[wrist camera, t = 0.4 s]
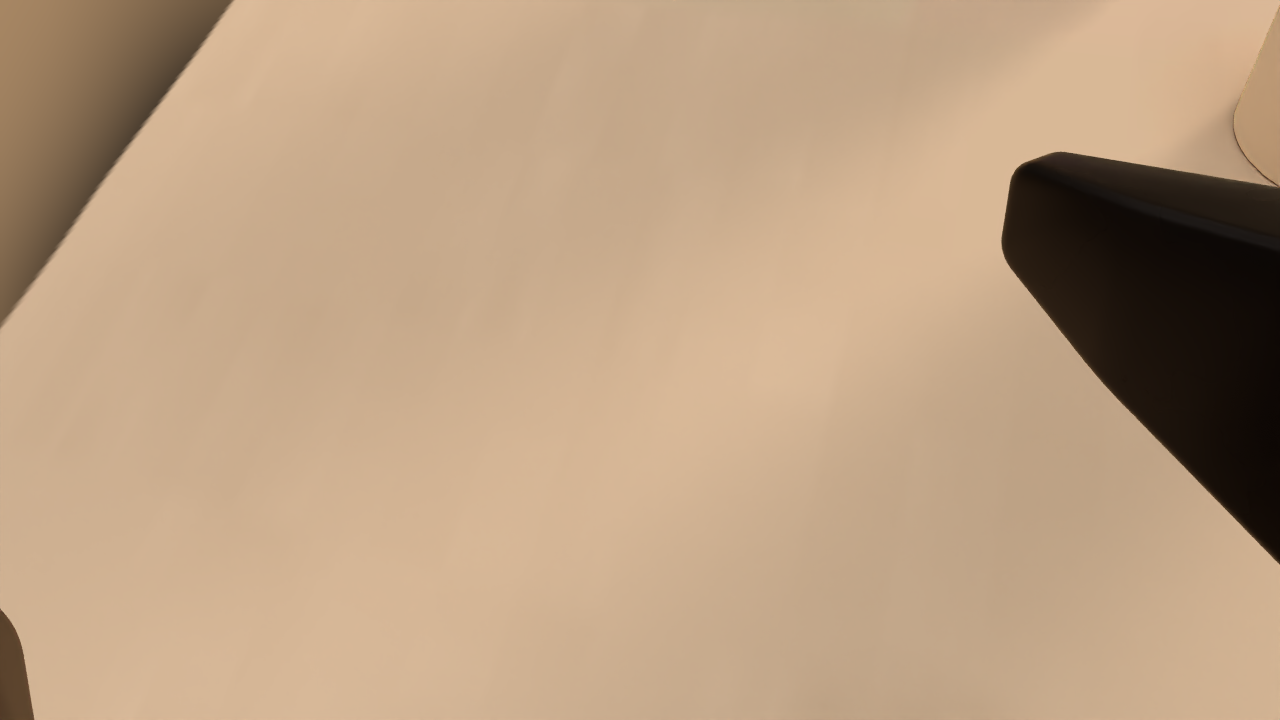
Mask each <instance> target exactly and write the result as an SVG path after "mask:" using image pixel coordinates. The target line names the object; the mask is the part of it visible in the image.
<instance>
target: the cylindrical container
mask: <svg viewBox="0 0 1280 720" xmlns="http://www.w3.org/2000/svg"><path fill="white" fill-rule="evenodd" d="M1234 132H1235V135H1236V138H1237V142H1238V144H1239V146H1240V148H1241V149H1242V151H1243V152H1244V154H1245V155H1246V157H1247V159H1248V160H1249V161H1250V162H1251V163H1252V164H1253V165H1254V166H1255V167H1256V168H1257V169H1258V170H1259V171H1260V172H1261V173H1262V174H1263V175H1264V176H1266V177H1267V178H1269V179H1270V180H1271V181H1273V182H1274V183H1276V184H1277V185H1278V186H1280V5H1279V8H1278V10H1277V12H1276V15H1275V17H1274V19H1273V22H1272V24H1271V26H1270V29H1269V31H1268V33H1267V36H1266V38H1265V41H1264V43H1263V45H1262V48H1261V50H1260V52H1259V55H1258V57H1257V59H1256V62H1255V64H1254V66H1253V69H1252V71H1251V74H1250V76H1249V78H1248V81H1247V83H1246V85H1245V88H1244V90H1243V92H1242V95H1241V97H1240V99H1239V102H1238V104H1237V107H1236V110H1235V113H1234Z"/></svg>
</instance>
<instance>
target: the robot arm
mask: <svg viewBox="0 0 1280 720" xmlns="http://www.w3.org/2000/svg"><path fill="white" fill-rule="evenodd" d="M1001 243H1002V250H1003V254H1004V257H1005V259H1006V261H1007V263H1008V265H1009V266H1010V268H1011V269H1012V270H1013V272H1014V273H1015V274H1016V276H1017V277H1018V278H1019V279H1020V281H1021V282H1022V283H1023V284H1024V286H1025V287H1026V288H1027V289H1028V291H1029V292H1030V293H1031V294H1032V296H1033V297H1034V298H1035V299H1036V301H1037V302H1038V303H1039V304H1040V306H1041V307H1042V308H1043V309H1044V311H1045V312H1046V313H1047V314H1048V316H1049V317H1050V318H1051V320H1052V321H1053V322H1054V323H1055V325H1056V326H1057V327H1058V328H1059V330H1060V331H1061V332H1062V333H1063V335H1064V336H1065V337H1066V338H1067V340H1068V341H1069V342H1070V343H1071V345H1072V346H1073V347H1074V348H1075V350H1076V351H1077V352H1078V353H1079V355H1080V356H1081V357H1082V358H1083V360H1084V361H1085V362H1086V363H1087V365H1088V366H1089V367H1090V368H1091V369H1092V371H1093V372H1094V373H1095V374H1096V375H1097V377H1098V378H1099V379H1100V380H1101V381H1102V382H1103V384H1104V385H1105V386H1106V387H1107V388H1108V389H1109V390H1110V391H1111V392H1112V393H1113V394H1114V395H1115V396H1116V398H1117V399H1118V400H1119V401H1120V402H1121V403H1122V404H1123V405H1124V406H1125V407H1126V408H1127V409H1128V410H1129V411H1130V412H1131V413H1132V414H1133V415H1134V416H1135V417H1136V418H1137V419H1138V420H1139V421H1140V422H1141V423H1142V424H1143V425H1144V426H1145V427H1146V428H1147V429H1148V430H1149V431H1150V432H1151V433H1152V434H1153V436H1154V437H1155V438H1156V439H1157V440H1158V441H1159V442H1160V443H1161V444H1162V445H1163V446H1164V447H1165V448H1166V449H1167V450H1168V451H1169V452H1170V453H1171V454H1172V455H1173V456H1174V457H1175V458H1176V459H1177V460H1178V461H1179V462H1180V463H1181V464H1182V465H1183V466H1184V467H1185V468H1186V469H1187V470H1188V471H1189V472H1190V473H1191V474H1192V475H1193V476H1194V477H1195V478H1196V479H1197V480H1198V482H1199V483H1200V484H1201V485H1202V486H1203V487H1204V488H1205V489H1206V490H1207V491H1208V492H1209V493H1210V494H1211V495H1212V496H1213V497H1214V498H1215V499H1216V500H1217V501H1218V502H1219V503H1220V504H1221V505H1222V506H1223V507H1224V508H1225V509H1226V510H1227V511H1228V512H1229V513H1230V514H1231V515H1232V516H1233V517H1234V518H1235V519H1236V520H1237V521H1238V522H1239V523H1240V524H1241V525H1242V527H1243V528H1244V529H1245V530H1246V531H1247V532H1248V533H1249V534H1250V535H1251V536H1252V537H1253V538H1254V539H1255V540H1256V541H1257V542H1258V543H1259V544H1260V545H1261V546H1262V547H1263V548H1264V549H1265V550H1266V551H1267V552H1268V553H1269V554H1270V555H1271V556H1272V557H1273V558H1274V559H1275V560H1276V561H1277V562H1278V563H1279V564H1280V188H1279V187H1273V186H1267V185H1261V184H1255V183H1249V182H1243V181H1236V180H1230V179H1224V178H1218V177H1212V176H1206V175H1200V174H1194V173H1188V172H1182V171H1176V170H1170V169H1164V168H1158V167H1152V166H1146V165H1140V164H1134V163H1128V162H1122V161H1116V160H1110V159H1104V158H1098V157H1092V156H1086V155H1079V154H1073V153H1067V152H1054V153H1050V154H1047V155H1044V156H1042V157H1039V158H1036V159H1033V160H1031V161H1028V162H1025V163H1023V164H1021V165H1020V166H1019V167H1018V168H1017V169H1016V170H1015V172H1014V174H1013V175H1012V178H1011V182H1010V187H1009V194H1008V200H1007V207H1006V213H1005V219H1004V226H1003V232H1002V241H1001ZM0 720H34V715H33V709H32V703H31V697H30V691H29V685H28V679H27V672H26V666H25V660H24V654H23V649H22V646H21V642H20V639H19V637H18V634H17V632H16V630H15V628H14V626H13V625H12V623H11V621H10V620H9V619H8V617H7V616H6V615H5V614H4V613H3V611H2V610H1V609H0Z"/></svg>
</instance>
